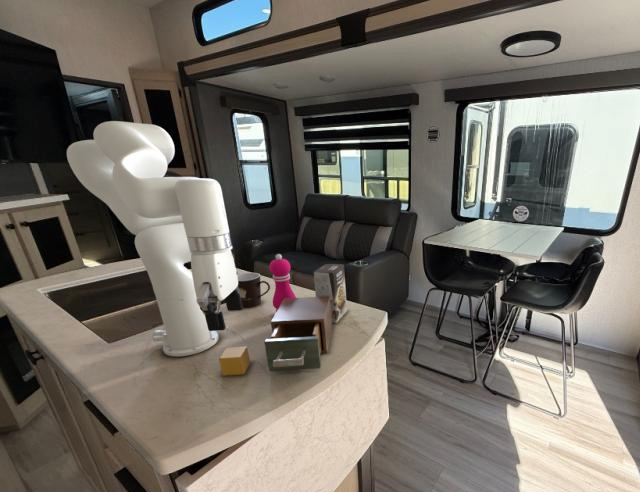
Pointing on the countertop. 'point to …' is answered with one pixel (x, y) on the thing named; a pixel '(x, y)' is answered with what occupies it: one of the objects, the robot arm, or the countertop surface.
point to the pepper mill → (281, 280)
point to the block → (234, 361)
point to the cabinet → (306, 314)
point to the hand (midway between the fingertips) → (226, 319)
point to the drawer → (294, 347)
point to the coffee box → (332, 288)
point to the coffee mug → (250, 289)
